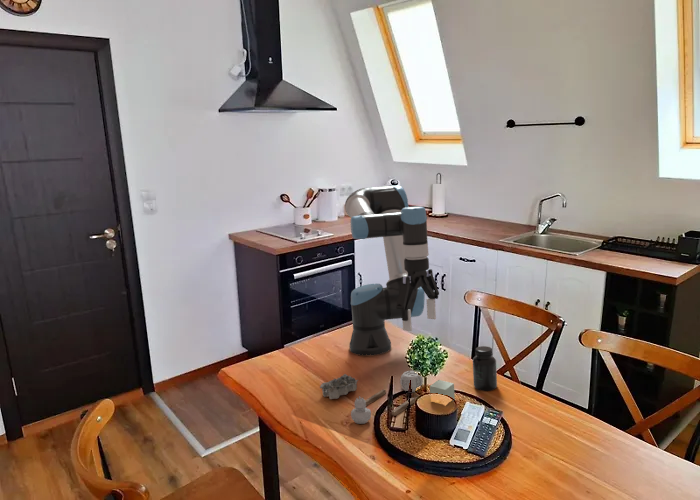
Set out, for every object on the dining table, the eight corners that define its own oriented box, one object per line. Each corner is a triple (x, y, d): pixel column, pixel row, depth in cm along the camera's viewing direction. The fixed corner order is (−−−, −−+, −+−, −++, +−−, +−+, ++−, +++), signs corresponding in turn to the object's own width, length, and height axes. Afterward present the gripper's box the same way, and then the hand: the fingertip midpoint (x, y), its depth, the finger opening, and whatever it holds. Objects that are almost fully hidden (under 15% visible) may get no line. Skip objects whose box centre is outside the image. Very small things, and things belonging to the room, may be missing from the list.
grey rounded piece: (350, 427, 133) (348, 399, 131) (352, 415, 139) (350, 388, 138) (371, 427, 132) (368, 398, 131) (372, 415, 138) (370, 388, 137)
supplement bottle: (488, 380, 155) (487, 343, 154) (501, 388, 149) (500, 350, 147) (469, 384, 153) (467, 347, 152) (481, 393, 147) (480, 354, 145)
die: (410, 384, 157) (409, 369, 156) (423, 388, 153) (422, 372, 153) (400, 390, 153) (399, 374, 153) (413, 394, 150) (412, 378, 149)
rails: (383, 393, 152) (382, 389, 152) (415, 402, 144) (414, 398, 144) (362, 405, 145) (362, 401, 144) (394, 416, 137) (394, 412, 137)
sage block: (439, 395, 147) (438, 379, 147) (454, 399, 144) (453, 383, 143) (430, 402, 144) (429, 385, 143) (445, 406, 140) (445, 389, 140)
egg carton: (332, 401, 147) (330, 387, 147) (319, 395, 154) (317, 382, 153) (361, 389, 153) (359, 376, 153) (347, 383, 159) (345, 371, 159)
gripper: (427, 250, 164) (431, 312, 167) (381, 263, 146) (386, 333, 149) (447, 251, 159) (450, 315, 162) (402, 265, 141) (406, 337, 144)
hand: (419, 324), depth 156 cm, fingers open, 13 cm apart
